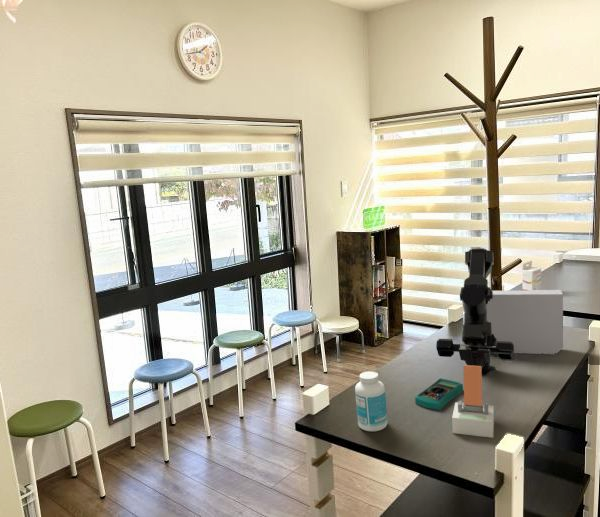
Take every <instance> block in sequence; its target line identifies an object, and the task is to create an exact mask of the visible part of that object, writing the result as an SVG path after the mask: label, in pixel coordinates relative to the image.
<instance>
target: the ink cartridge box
mask: <svg viewBox="0 0 600 517" xmlns="http://www.w3.org/2000/svg"><path fill="white" fill-rule="evenodd" d="M532 263H533V261H532V260H530V261H526V262H524V263H522V274H521V276H522V277H521V278H522V279H521V280H522V282H521V283H522V284H521V285H522V291H527V290H542V267H534V266H532Z"/></svg>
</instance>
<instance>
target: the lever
mask: <svg viewBox="0 0 600 517" xmlns="http://www.w3.org/2000/svg"><path fill="white" fill-rule="evenodd" d="M482 377H483V375H482V369H481V366H470V365H467V364H463V403H464V404H463V411H472V412H483V406H482V405H483V384H482V381H483V379H482Z"/></svg>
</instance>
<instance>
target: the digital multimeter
mask: <svg viewBox="0 0 600 517" xmlns="http://www.w3.org/2000/svg"><path fill="white" fill-rule="evenodd" d="M461 392H464V383H462V382H459V381H456V380H455V381H454V380H451V379H446V378H442V377H441V378H439V379H437V380H436V381H435V382H433V383H432V384H431V385H430V386H429V387H427V388H425V389H424V390H423V391H421V392H420V393H419V394H417V395H416V396H415V397H414V402H415V404H416V405H417V406H421V407H423V408H427V409H429V410H436V411H440V410H441V409H442V408H443V407H445V406H446V405H447V404H448V403H449V402H451V400H453V399H454V398H456V397H457V396H458V395H459V394H460V393H461Z"/></svg>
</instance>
